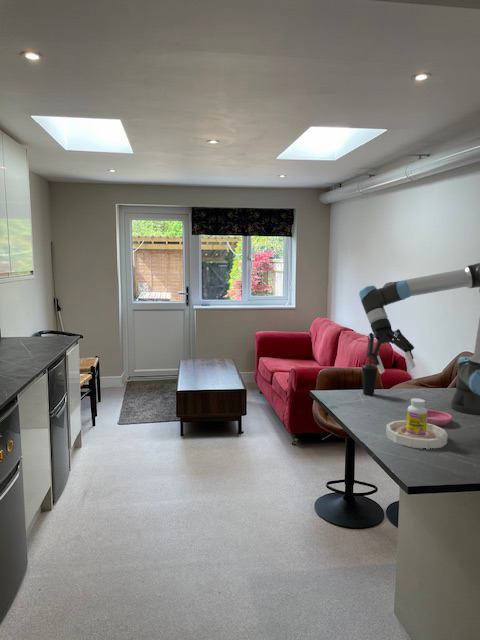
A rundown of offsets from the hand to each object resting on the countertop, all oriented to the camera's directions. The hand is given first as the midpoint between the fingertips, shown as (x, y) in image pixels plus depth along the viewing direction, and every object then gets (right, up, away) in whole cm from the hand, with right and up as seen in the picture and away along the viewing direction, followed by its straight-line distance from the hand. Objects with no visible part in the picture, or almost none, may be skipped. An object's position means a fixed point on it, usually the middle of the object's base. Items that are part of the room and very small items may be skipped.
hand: (397, 370), depth 179 cm
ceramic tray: (+2, -23, -13) cm, 26 cm away
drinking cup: (+1, -16, +43) cm, 46 cm away
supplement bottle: (+2, -22, -13) cm, 26 cm away
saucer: (+16, -21, +5) cm, 27 cm away
